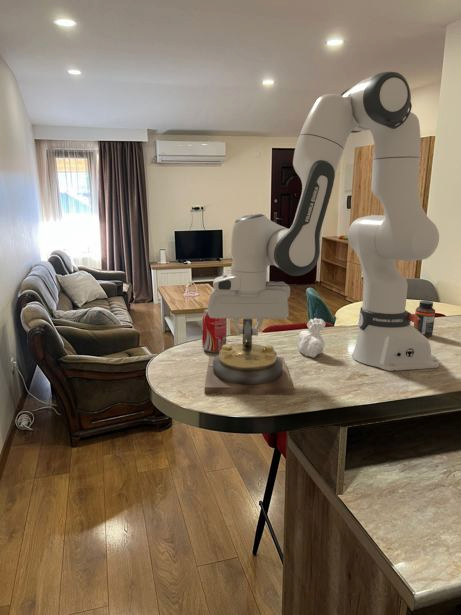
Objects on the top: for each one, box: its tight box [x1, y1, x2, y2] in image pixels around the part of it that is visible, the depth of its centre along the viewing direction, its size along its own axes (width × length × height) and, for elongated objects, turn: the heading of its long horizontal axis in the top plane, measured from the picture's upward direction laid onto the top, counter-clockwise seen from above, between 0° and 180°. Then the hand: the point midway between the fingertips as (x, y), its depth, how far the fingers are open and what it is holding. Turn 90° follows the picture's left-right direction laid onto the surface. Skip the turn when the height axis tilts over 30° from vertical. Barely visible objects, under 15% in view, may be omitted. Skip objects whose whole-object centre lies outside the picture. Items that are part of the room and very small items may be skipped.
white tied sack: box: [296, 317, 326, 359], centre depth 125 cm, size 12×8×11 cm
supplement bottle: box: [413, 300, 436, 338], centre depth 143 cm, size 6×6×11 cm
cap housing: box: [204, 354, 295, 395], centre depth 108 cm, size 20×20×4 cm
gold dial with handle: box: [218, 319, 278, 371], centre depth 106 cm, size 14×14×9 cm
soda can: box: [201, 307, 228, 353], centre depth 126 cm, size 7×7×12 cm
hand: (247, 334), depth 111 cm, fingers closed on gold dial with handle, 2 cm apart
